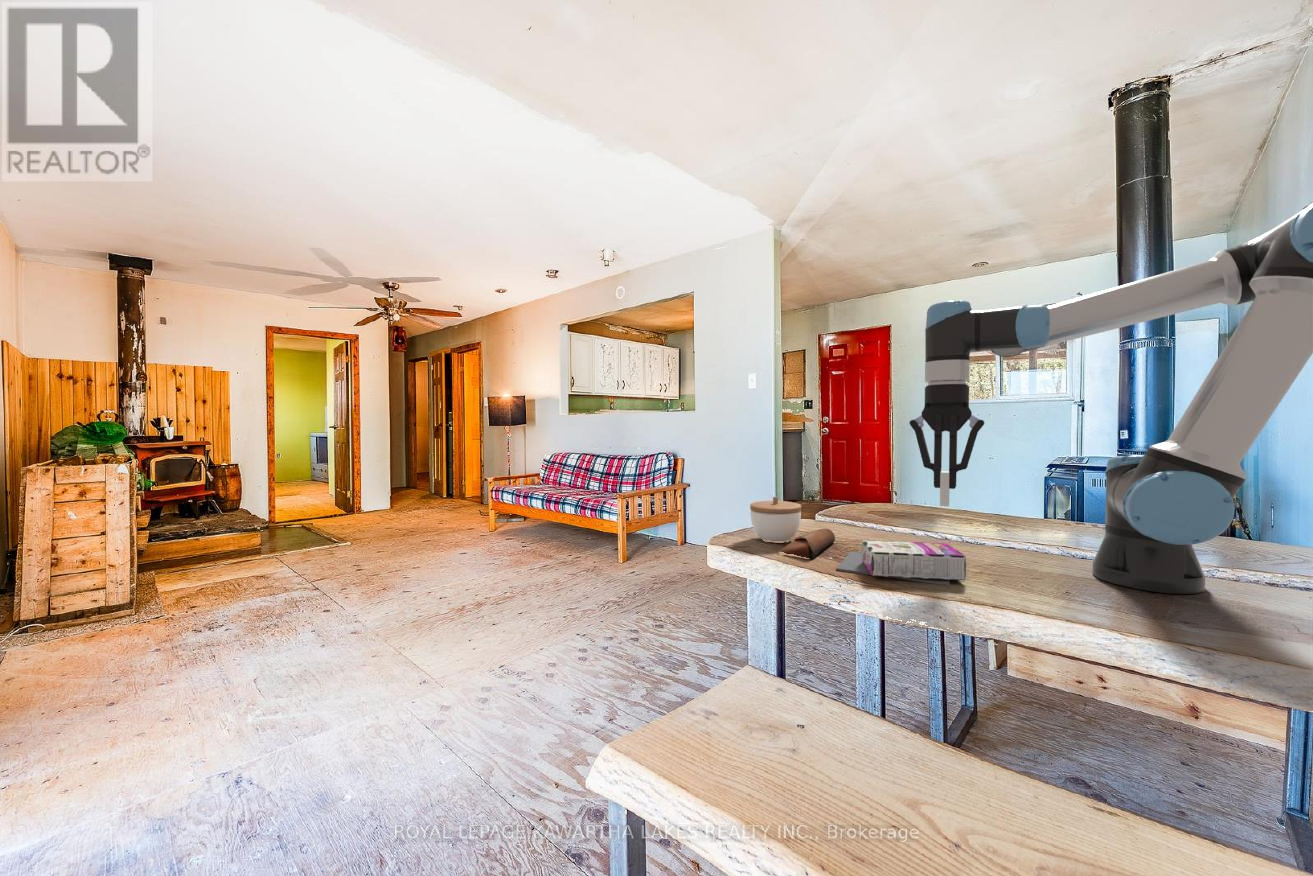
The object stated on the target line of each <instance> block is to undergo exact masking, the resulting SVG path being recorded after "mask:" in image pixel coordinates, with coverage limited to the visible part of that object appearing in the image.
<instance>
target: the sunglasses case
mask: <svg viewBox="0 0 1313 876" xmlns="http://www.w3.org/2000/svg"><path fill="white" fill-rule="evenodd" d="M835 541H836V535H835V534H834V532H833V531H832V530H831V529H829V528H820V529H815V530H812V531H809V532H806V533H805V534H801V535H799V536H797V537H796V538H794V540H793V541H792V542H789V544H787V545H786V546H785V547H783V548H782V549H781V550H780V551H781V552H784V553H786V554H794V555H797V556H801V557H806V558H810V559H811V560H812V559H815V558H816V557H817V556H818V555H819V553H821V552H822V551H823V550H824V549H826V548H827V547H829V546H830V545H831V544H833V543H834V542H835ZM810 559H809V560H810Z"/></svg>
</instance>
